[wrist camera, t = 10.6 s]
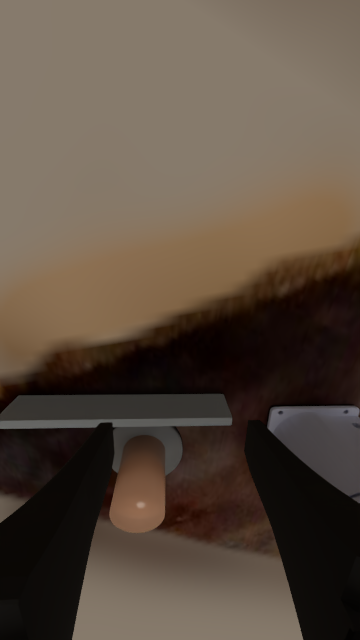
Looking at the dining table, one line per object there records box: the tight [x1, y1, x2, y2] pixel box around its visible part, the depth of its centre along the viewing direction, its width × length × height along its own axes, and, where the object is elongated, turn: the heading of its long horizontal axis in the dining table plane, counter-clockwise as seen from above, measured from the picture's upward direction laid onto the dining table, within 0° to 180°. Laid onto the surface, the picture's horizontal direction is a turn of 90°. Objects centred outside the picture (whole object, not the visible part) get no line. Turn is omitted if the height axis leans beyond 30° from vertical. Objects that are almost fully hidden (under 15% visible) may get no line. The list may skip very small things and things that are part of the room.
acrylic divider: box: [0, 394, 232, 429], centre depth 22 cm, size 20×1×4 cm, turn 88°
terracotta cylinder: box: [110, 435, 165, 533], centre depth 22 cm, size 4×4×6 cm
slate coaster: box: [112, 426, 183, 475], centre depth 25 cm, size 8×8×1 cm
